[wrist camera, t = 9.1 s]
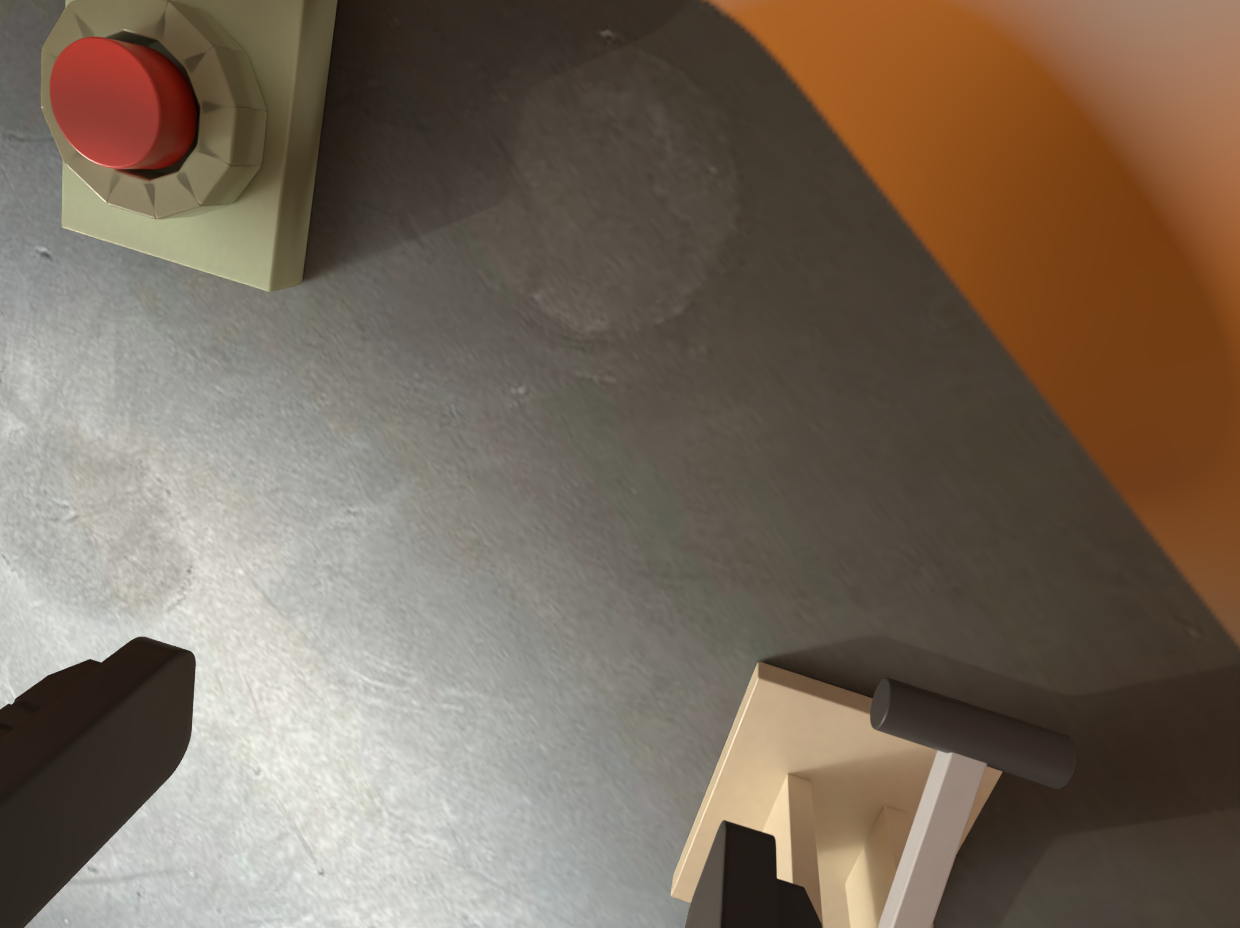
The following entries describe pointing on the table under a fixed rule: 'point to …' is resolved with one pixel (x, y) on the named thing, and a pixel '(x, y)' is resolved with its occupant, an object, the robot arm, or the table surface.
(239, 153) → the button block
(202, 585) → the table surface
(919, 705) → the switch lever
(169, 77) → the power button
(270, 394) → the table surface
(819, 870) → the wooden stand
